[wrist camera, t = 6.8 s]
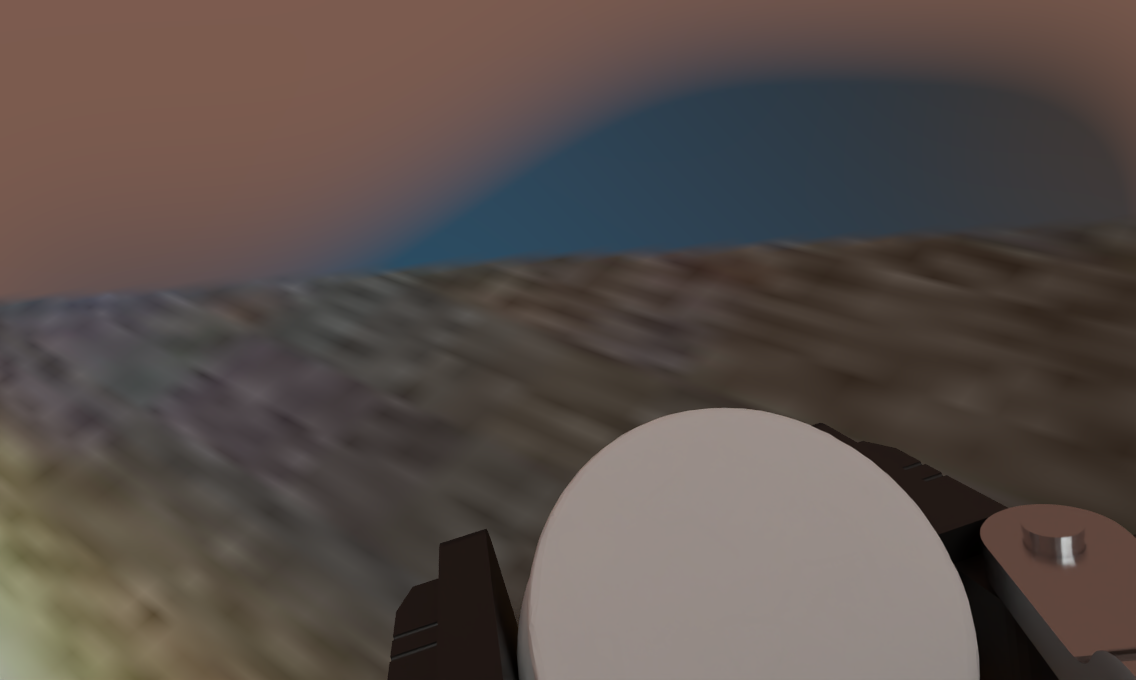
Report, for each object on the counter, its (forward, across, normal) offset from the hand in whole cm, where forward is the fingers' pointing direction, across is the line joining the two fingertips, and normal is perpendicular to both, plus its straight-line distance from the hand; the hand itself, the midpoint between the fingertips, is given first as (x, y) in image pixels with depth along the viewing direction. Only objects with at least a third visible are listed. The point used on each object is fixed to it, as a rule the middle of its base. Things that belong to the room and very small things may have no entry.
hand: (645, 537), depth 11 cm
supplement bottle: (+2, 0, +4) cm, 5 cm away
